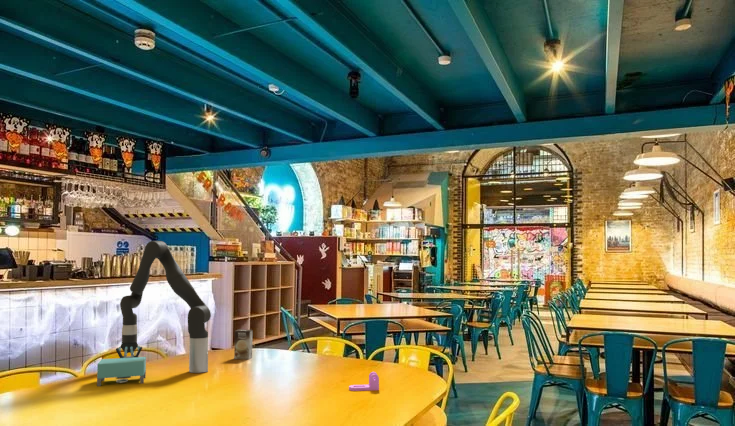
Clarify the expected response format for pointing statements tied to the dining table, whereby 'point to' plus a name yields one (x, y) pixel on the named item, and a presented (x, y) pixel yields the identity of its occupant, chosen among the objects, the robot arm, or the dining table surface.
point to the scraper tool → (129, 376)
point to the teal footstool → (121, 368)
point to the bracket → (371, 386)
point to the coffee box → (243, 344)
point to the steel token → (121, 380)
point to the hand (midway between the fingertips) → (128, 366)
